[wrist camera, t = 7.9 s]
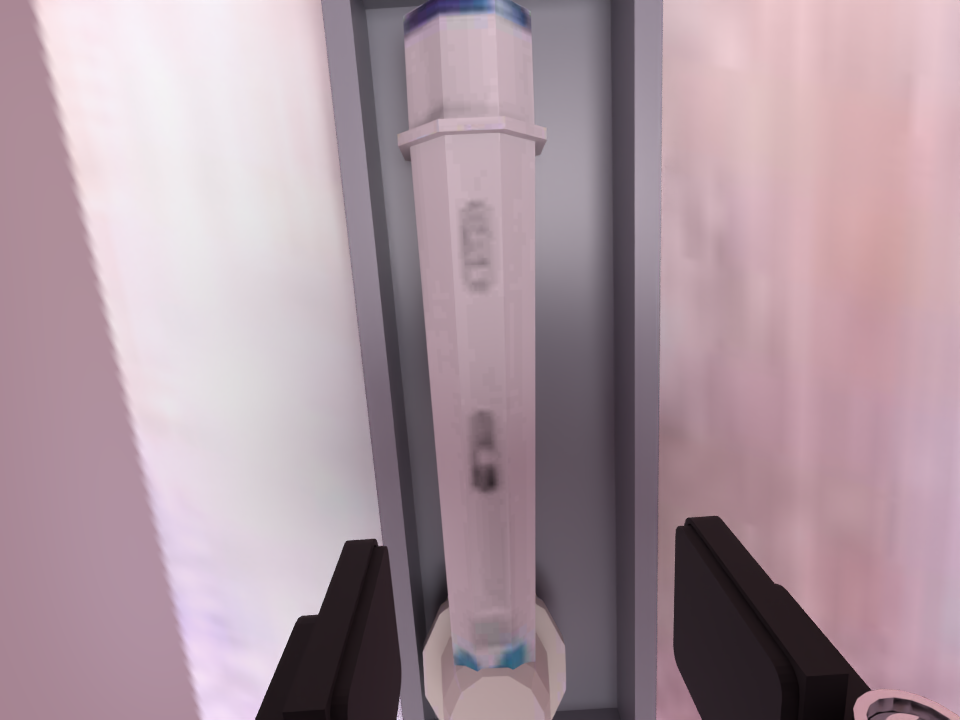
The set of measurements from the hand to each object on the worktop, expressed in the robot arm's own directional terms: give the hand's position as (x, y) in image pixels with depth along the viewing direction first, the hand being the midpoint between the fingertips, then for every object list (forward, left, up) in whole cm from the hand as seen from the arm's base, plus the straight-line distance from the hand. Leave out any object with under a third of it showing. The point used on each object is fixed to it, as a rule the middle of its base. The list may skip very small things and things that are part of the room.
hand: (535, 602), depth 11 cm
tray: (0, 0, -12) cm, 12 cm away
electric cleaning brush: (0, +1, -12) cm, 12 cm away
